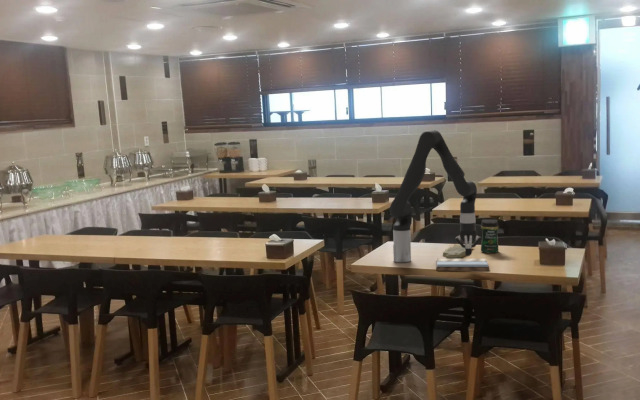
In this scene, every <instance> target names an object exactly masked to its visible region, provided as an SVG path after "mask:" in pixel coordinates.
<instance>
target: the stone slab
mask: <svg viewBox="0 0 640 400" xmlns="http://www.w3.org/2000/svg"><path fill="white" fill-rule="evenodd" d="M463 244H464V245H465V243H463ZM472 245H473V243H472ZM468 248H469V243H468ZM442 256H443V257H445V258H446V259H463V258H465V257H466V256H467V255H466V253H465V248H464V247H462V246H461V245H460V244H459V243H455V244H454V245H453V246H450V247H448V248H447V249H446V248H445V250H444V251H442ZM464 256H465V257H464Z"/></svg>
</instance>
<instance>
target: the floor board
mask: <svg viewBox="0 0 640 400" xmlns="http://www.w3.org/2000/svg"><path fill="white" fill-rule="evenodd" d="M437 261H475V262H487V263H488V260H487V259H486V258H436V260H435V270H436V271H453V272H455V271H456V272H457V271H458V272H459V271H460V272H461V271H463V272H465V271H468V272H469V271H479V272H482V271H485V272H486V271H488V272H489V271H490V266H489V265H488V267H437Z"/></svg>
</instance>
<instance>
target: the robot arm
mask: <svg viewBox="0 0 640 400" xmlns="http://www.w3.org/2000/svg"><path fill="white" fill-rule="evenodd" d="M432 149H434V151H435V152H436V153H437V154H438V156H439V157H440V160H441V162H442V163H441V164H442V166H443V170H444V171H445V172H446V173H447V175H448V176H449V178H450V179H451V181H452V184H453V186H454V189H455V190H456V192H457V193H458V194H459V195H460V196H461V197H462V200H461V202H460V205H459V207H460V215H459V227H460V228H459V230H460V232H459V233H458V234H459V235H457V236H456V237H455V240H456V242H457V244H460V245H461V246H462V247H464V248H465V253H466V256H467V257H470V256H471V255H472V248H475V247H476V246H477V245H478V244H479V242H480V241H482V236H479V235H478V233H477V229H476V228H477V224H476V222H477V221H476V206H475V204H476V199H477V193H478V189H477V185H476V183H475V182H473V181H471V180H470V181H469V180H468V181H466V178H465V172H464V170H463V169H462V167H461V166H460V165H459V163H458V161H456V159H455V158H454V156H453V154H452V153H451V151H450V149H449V147H448V145H447V143H446V141H445V139H444V137H443V135H442V134H441V132H440V131H438V130H436V129H434V130H433V129H431V130H424V131H423V132H422V133H421V134H420V136H419V138H418V142H417V145H416V149H415V151H414V154H413V156H412V159H411V161H410V164H409V165H408V167H407V170H406V172H405V174H404V177H403V179H402V182H401V184H400V186H399V189H398V191H397V193H396V195H395V197H394V198H393V200H392V202H391V203H390V207H389V213H390V215H391V217H392V218H394V219H396V221H395V222H394V223H393V225H392V233H393V234H392V235H393V236H392V237H393V244H392V245H393V246H392V247H393V249H392V250H393V253H392V254H393V263H395V262H396V263H410V262H412V248H411V247H412V246H411V245H412V244H411V243H412V242H411V225H412V223H413V220H412V218H413V215H412V214H413V209H412V204H411V202H410V201H409V199H410V197H412V195H413V194H414V193H415V191H416V190H417V189H418V188H419V187H420V185H421V184H422V181H423V179H424V178H425V174H426V169H427V168H426V167H427V159H428V156H429V155H430V153H431V150H432ZM473 241H474V242H473ZM463 242H464V243H463ZM472 242H473V243H472ZM464 244H465V245H464ZM468 244H469V248H468ZM472 244H473V245H472Z"/></svg>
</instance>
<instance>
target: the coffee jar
mask: <svg viewBox="0 0 640 400" xmlns="http://www.w3.org/2000/svg"><path fill="white" fill-rule="evenodd" d="M499 227H500V226H499V221H498V220H497V219H482V220H481V224H480V228H481V242H480V252H482V253H485V254H495V253H498V252H499V243H498V242H499V237H498V231H499Z"/></svg>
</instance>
